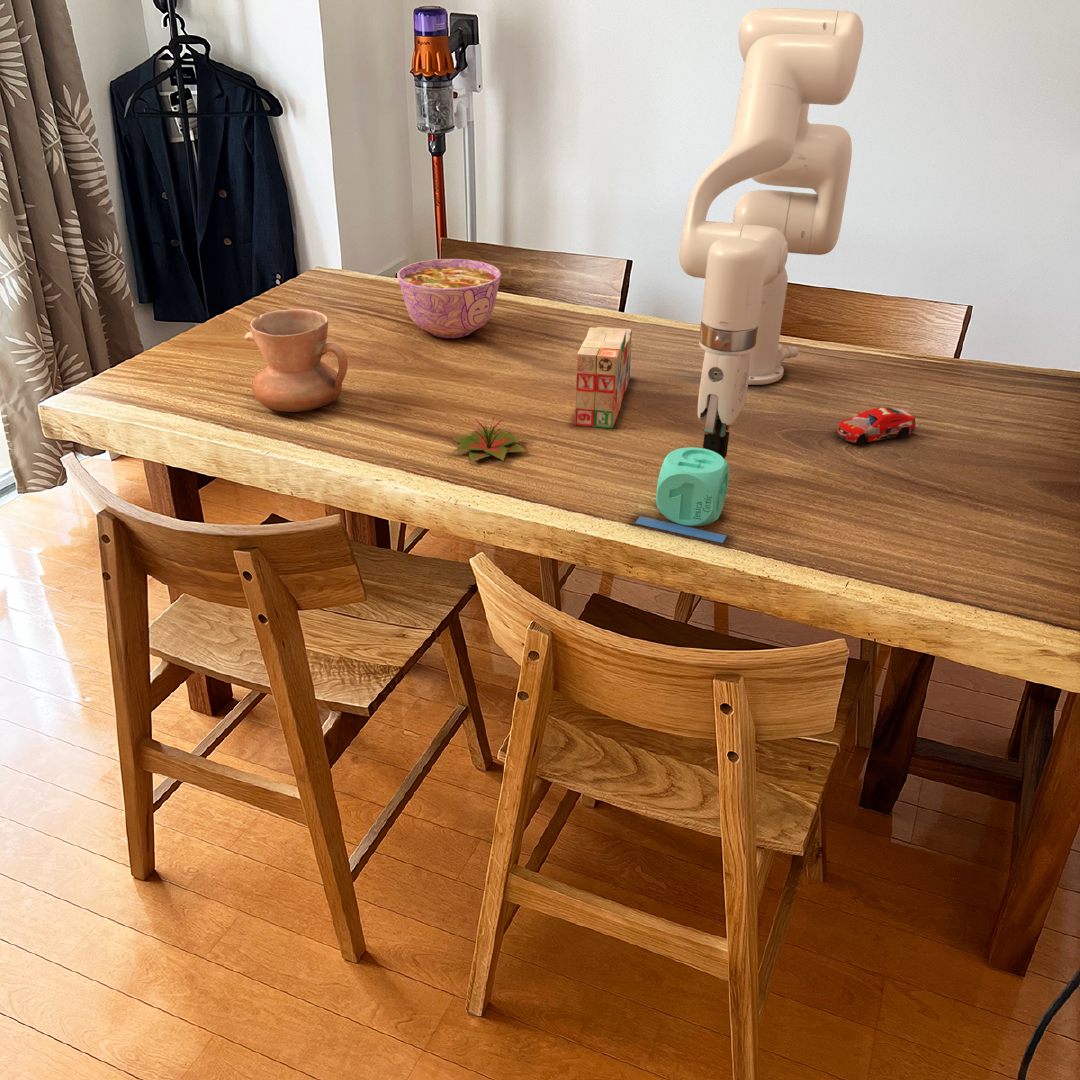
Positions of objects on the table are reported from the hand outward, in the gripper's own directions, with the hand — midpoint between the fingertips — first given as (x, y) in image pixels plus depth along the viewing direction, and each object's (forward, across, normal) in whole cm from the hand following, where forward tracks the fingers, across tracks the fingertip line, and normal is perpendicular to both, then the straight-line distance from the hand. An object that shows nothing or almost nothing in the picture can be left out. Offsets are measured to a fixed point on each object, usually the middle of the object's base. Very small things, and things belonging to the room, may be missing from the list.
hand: (714, 457), depth 141 cm
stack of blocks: (+4, +19, +24) cm, 31 cm away
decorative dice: (+4, -11, 0) cm, 12 cm away
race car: (+4, +25, -20) cm, 32 cm away
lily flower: (+4, -5, +34) cm, 34 cm away
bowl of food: (+4, +39, +64) cm, 74 cm away
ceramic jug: (+4, -3, +69) cm, 69 cm away
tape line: (+3, -16, 0) cm, 16 cm away
